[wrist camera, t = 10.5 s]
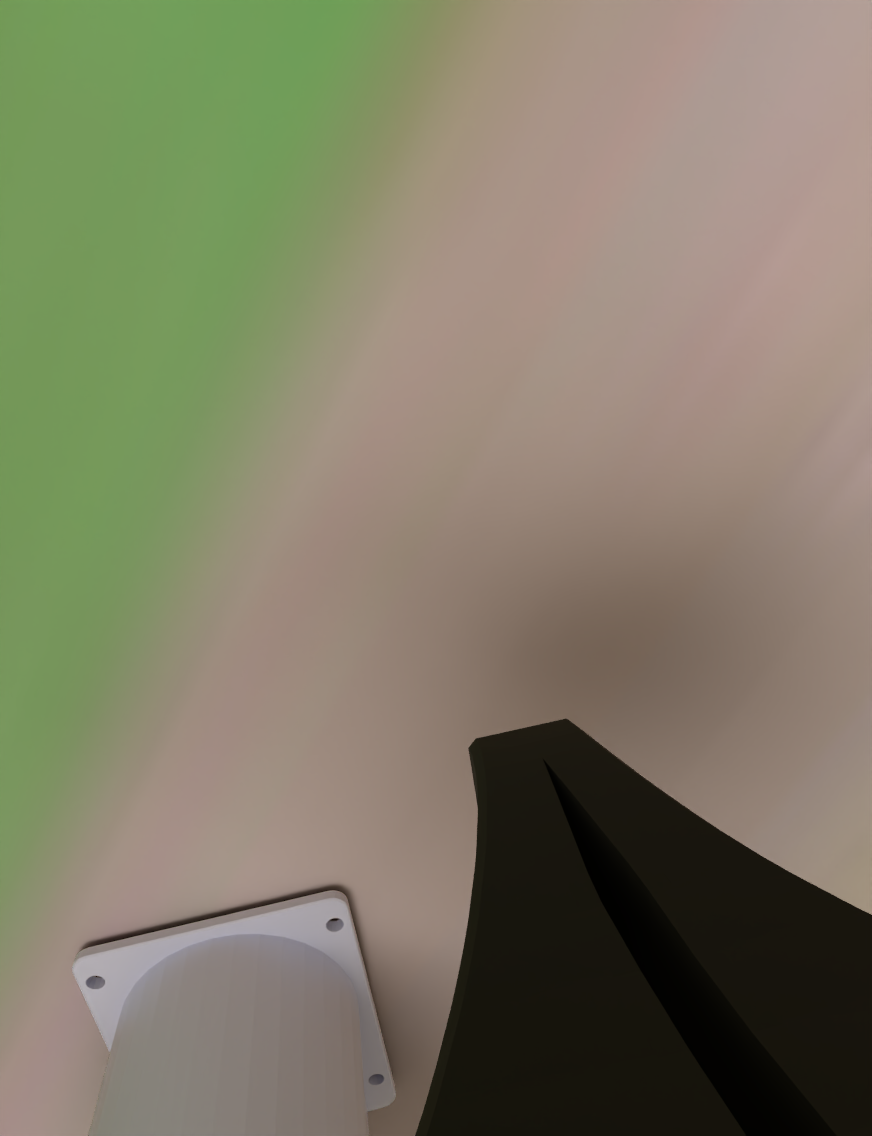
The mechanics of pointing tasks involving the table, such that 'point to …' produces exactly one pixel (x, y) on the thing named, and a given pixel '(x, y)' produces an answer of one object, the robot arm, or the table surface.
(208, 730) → the table surface
